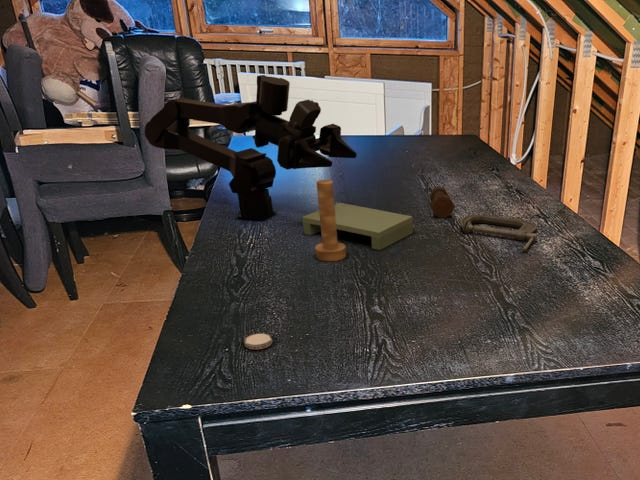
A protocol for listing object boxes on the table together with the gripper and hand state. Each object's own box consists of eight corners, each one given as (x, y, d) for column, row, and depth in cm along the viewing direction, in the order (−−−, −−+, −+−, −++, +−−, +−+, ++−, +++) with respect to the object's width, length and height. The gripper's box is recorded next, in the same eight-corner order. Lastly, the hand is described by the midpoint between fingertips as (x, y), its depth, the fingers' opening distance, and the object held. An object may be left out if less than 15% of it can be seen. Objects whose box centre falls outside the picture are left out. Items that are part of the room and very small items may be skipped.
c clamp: (553, 230, 150) (554, 218, 149) (526, 253, 136) (526, 240, 135) (473, 216, 157) (474, 205, 156) (440, 237, 144) (440, 225, 142)
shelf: (303, 233, 143) (302, 216, 141) (340, 218, 153) (339, 202, 151) (379, 250, 136) (378, 232, 134) (413, 233, 146) (412, 216, 144)
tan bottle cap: (239, 343, 98) (238, 339, 98) (261, 334, 101) (261, 330, 101) (255, 351, 96) (254, 348, 96) (277, 342, 99) (277, 338, 99)
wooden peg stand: (311, 259, 130) (303, 184, 122) (323, 249, 135) (316, 176, 127) (339, 262, 129) (333, 186, 121) (350, 252, 134) (345, 178, 127)
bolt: (440, 206, 170) (446, 222, 156) (423, 197, 168) (427, 212, 155) (452, 187, 168) (458, 201, 154) (434, 177, 166) (439, 191, 153)
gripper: (256, 100, 128) (323, 129, 125) (312, 90, 143) (373, 115, 140) (252, 155, 134) (316, 183, 131) (307, 140, 149) (365, 164, 146)
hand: (344, 159), depth 137 cm, fingers open, 9 cm apart
